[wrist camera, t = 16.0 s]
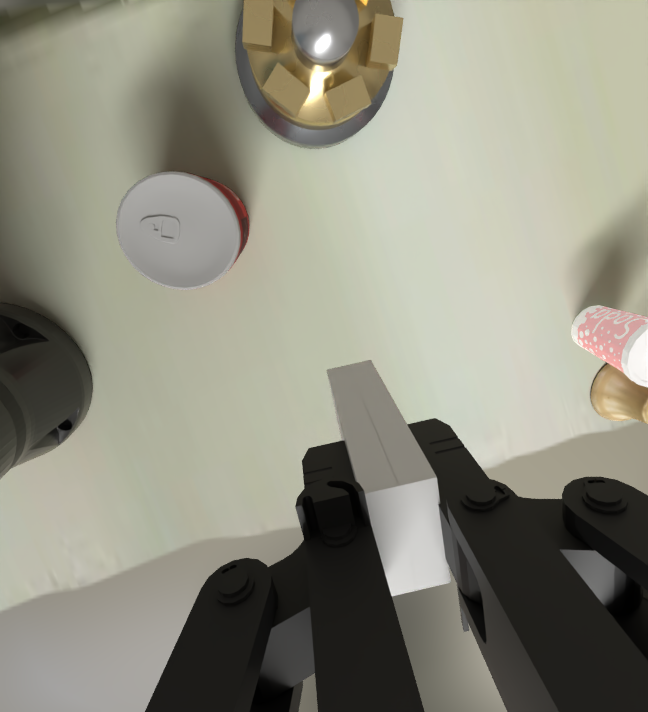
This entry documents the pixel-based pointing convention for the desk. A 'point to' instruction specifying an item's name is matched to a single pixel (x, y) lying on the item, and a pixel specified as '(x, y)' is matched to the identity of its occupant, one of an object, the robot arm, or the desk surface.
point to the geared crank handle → (320, 56)
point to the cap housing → (288, 130)
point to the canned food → (181, 229)
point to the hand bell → (619, 396)
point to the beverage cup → (615, 339)
